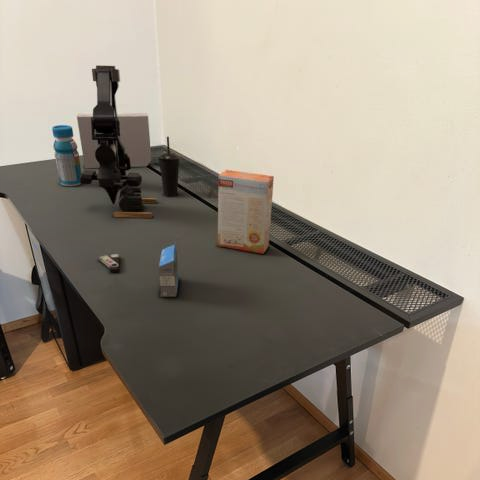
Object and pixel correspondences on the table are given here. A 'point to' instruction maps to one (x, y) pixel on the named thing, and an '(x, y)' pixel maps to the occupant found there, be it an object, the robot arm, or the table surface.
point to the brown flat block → (137, 214)
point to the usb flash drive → (111, 262)
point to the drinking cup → (169, 171)
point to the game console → (131, 137)
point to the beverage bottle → (66, 155)
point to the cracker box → (244, 210)
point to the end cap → (130, 199)
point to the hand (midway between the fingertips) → (113, 203)
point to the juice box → (169, 271)
